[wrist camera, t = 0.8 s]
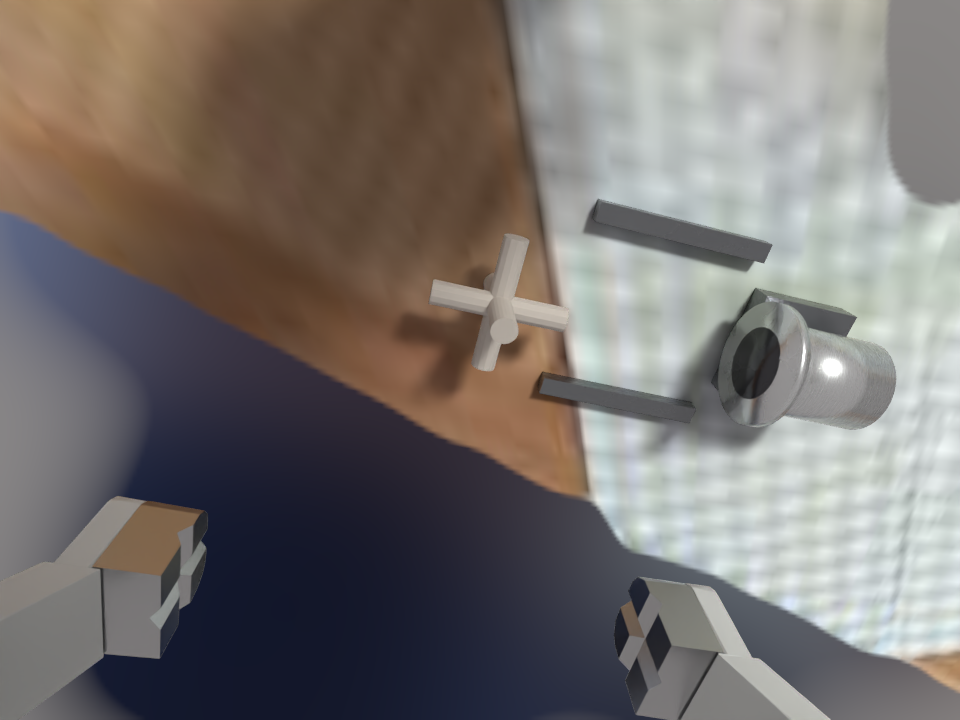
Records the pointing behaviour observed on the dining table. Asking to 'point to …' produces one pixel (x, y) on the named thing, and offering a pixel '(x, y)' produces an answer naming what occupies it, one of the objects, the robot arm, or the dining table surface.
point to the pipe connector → (499, 304)
